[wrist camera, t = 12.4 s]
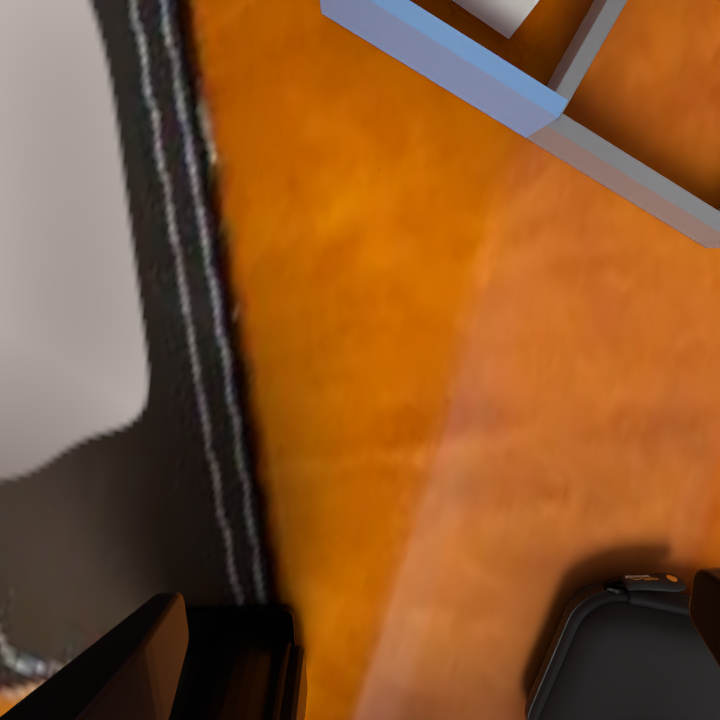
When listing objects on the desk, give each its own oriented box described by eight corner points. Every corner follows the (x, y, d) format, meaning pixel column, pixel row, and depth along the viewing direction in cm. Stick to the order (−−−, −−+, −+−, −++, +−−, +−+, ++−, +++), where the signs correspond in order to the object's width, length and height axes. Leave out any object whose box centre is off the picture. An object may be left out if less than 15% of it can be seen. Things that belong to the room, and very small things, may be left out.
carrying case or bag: (839, 599, 25) (574, 538, 23) (907, 647, 22) (607, 581, 20) (750, 755, 27) (505, 708, 26) (800, 818, 24) (525, 768, 23)
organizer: (853, 28, 18) (950, -14, 15) (706, 247, 20) (767, 248, 17) (447, -265, 16) (469, -381, 13) (321, 13, 18) (315, -34, 15)
